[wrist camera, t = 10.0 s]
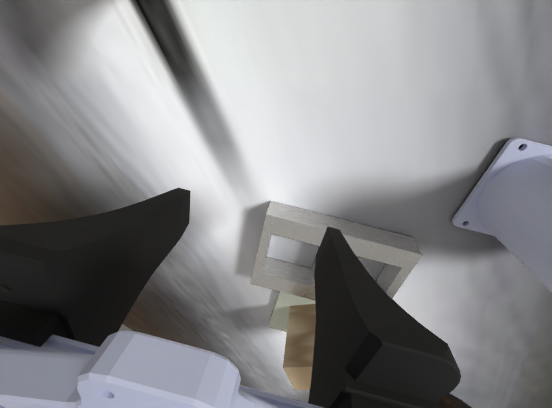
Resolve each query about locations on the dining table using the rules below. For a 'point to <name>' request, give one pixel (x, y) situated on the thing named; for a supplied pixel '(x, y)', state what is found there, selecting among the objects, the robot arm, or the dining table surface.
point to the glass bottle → (452, 402)
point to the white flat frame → (311, 229)
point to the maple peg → (300, 345)
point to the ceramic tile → (285, 309)
